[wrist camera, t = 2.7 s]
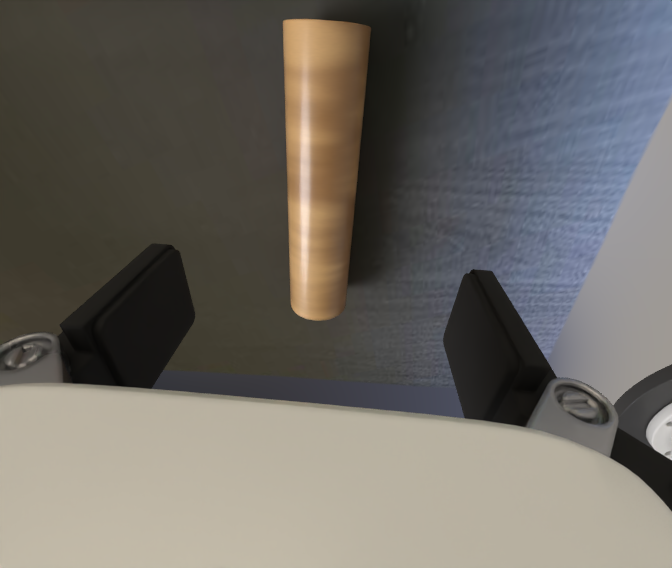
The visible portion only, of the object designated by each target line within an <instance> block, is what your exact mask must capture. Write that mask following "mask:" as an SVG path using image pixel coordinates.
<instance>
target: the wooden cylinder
mask: <svg viewBox="0 0 672 568" xmlns="http://www.w3.org/2000/svg"><path fill="white" fill-rule="evenodd" d="M370 36H371V27H370V26H367V25H363V24H358V23H351V22H343V21H332V20H318V19H288V20H284V21H283V45H284V81H285V117H286V152H287V188H288V224H289V259H290V295H291V307H292V309H293V310H294V312H295V313H297V314H298V315H299V316H301V317H303V318H306V319H310V320H328V319H332V318H334V317H336V316H338V315H339V314H341V313H342V312H343V310H344V308H345V306H346V295H347V284H348V273H349V262H350V252H351V241H352V230H353V219H354V208H355V198H356V187H357V176H358V165H359V154H360V144H361V133H362V122H363V111H364V100H365V90H366V79H367V68H368V57H369V47H370Z"/></svg>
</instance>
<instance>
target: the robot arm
mask: <svg viewBox="0 0 672 568" xmlns="http://www.w3.org/2000/svg"><path fill="white" fill-rule="evenodd" d="M194 319H195V311H194V307H193V303H192V299H191V295H190V291H189V287H188V283H187V279H186V275H185V271H184V267H183V263H182V259H181V255H180V252H179V251H178V250H175V248H174V247H173V246H172V245H166V244H151V245H150V246H149V247H147V248H146V249H145V250H144V251H143V252H142V253H141V254H139V255H138V256H137V257H136V258H135V259H134V260H133V261H131V262H130V263H129V264H128V265H127V266H126V267H125V268H123V269H122V270H121V271H120V272H119V273H118V274H117V275H116V276H114V277H113V278H112V279H111V280H110V281H109V282H108V283H106V284H105V285H104V286H103V287H102V288H101V289H100V290H98V291H97V292H96V293H95V294H94V295H93V296H92V297H90V298H89V299H88V300H87V301H86V302H85V303H84V304H82V305H81V306H80V307H79V308H78V309H77V310H76V311H75V312H73V313H72V314H71V315H70V316H69V317H68V318H67V319H65V320H64V321H63V322H62V323H61V324H60V327H61V328H62V330H63V332H62V333H61V334H60V335H59V336H57V335H55V334H53V333H49V332H34V333H29V334H25V335H21V336H19V337H16V338H13V339H11V340H9V341H7V342H5V343H3V344H1V345H0V568H672V402H671V403H670V404H668V405H667V406H665V407H664V408H662V409H661V410H660V411H659V412H658V413H657V414H656V415H655V416H654V417H653V418H652V420H651V421H650V422H649V424H648V427H647V429H646V438H647V440H648V442H649V443H650V445H651V446H652V447H653V448H654V449H652V448H651V447H649V446H648V445H646V444H644V443H643V442H641V441H639V440H638V439H636V438H634V437H633V436H631V435H630V434H628V433H626V432H625V431H623V430H621V429H620V428H618V414H617V412H616V410H615V408H614V406H613V405H612V404H611V403H610V401H609V400H608V399H607V398H606V397H605V396H604V395H602V394H601V393H600V392H599V391H597V390H596V389H594V388H593V387H591V386H589V385H587V384H585V383H583V382H581V381H578V380H574V379H570V378H557V377H556V375H555V374H554V372H553V370H552V369H551V367H550V365H549V363H548V362H547V360H546V358H545V357H544V355H543V353H542V352H541V350H540V349H539V347H538V345H537V344H536V342H535V340H534V339H533V337H532V336H531V334H530V332H529V331H528V329H527V327H526V326H525V324H524V322H523V321H522V319H521V318H520V316H519V314H518V313H517V311H516V309H515V308H514V306H513V305H512V303H511V301H510V300H509V298H508V296H507V295H506V293H505V291H504V290H503V288H502V287H501V285H500V283H499V282H498V280H497V278H496V277H495V275H494V274H493V272H492V271H486V270H474V269H473V270H471V272H470V273H469V274H468V273H466V274H465V275H464V276H463V279H462V282H461V285H460V288H459V291H458V294H457V297H456V300H455V303H454V306H453V309H452V312H451V315H450V318H449V321H448V324H447V327H446V330H445V333H444V338H443V342H444V347H445V351H446V354H447V358H448V361H449V365H450V368H451V372H452V375H453V379H454V382H455V386H456V389H457V393H458V396H459V400H460V403H461V406H462V410H463V413H464V417H465V418H456V417H447V416H438V415H430V414H420V413H409V412H399V411H389V410H379V409H378V410H377V409H367V408H358V407H348V406H337V405H326V404H316V403H305V402H294V401H283V400H272V399H261V398H250V397H239V396H228V395H216V394H205V393H193V392H182V391H170V390H158V389H151V388H152V387H153V385H154V383H155V382H156V380H157V379H158V377H159V376H160V374H161V372H162V371H163V369H164V368H165V366H166V365H167V363H168V362H169V360H170V358H171V357H172V355H173V354H174V352H175V351H176V349H177V348H178V346H179V344H180V343H181V341H182V340H183V338H184V337H185V335H186V333H187V332H188V330H189V329H190V327H191V326H192V324H193V322H194Z"/></svg>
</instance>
